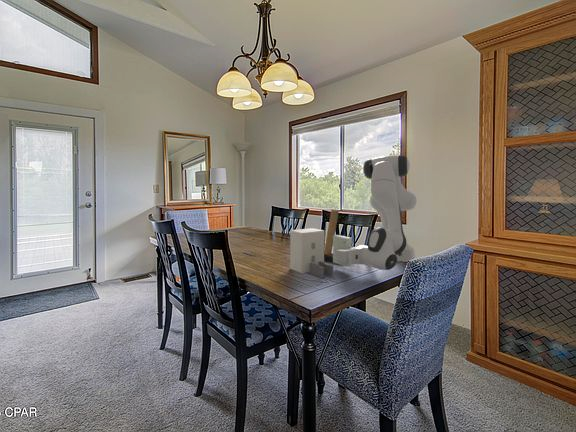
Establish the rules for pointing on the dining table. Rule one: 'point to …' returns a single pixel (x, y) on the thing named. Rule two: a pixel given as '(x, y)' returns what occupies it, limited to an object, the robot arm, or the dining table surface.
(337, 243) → the white upright block
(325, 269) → the hinge cabinet
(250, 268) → the dining table surface
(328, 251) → the hammer
